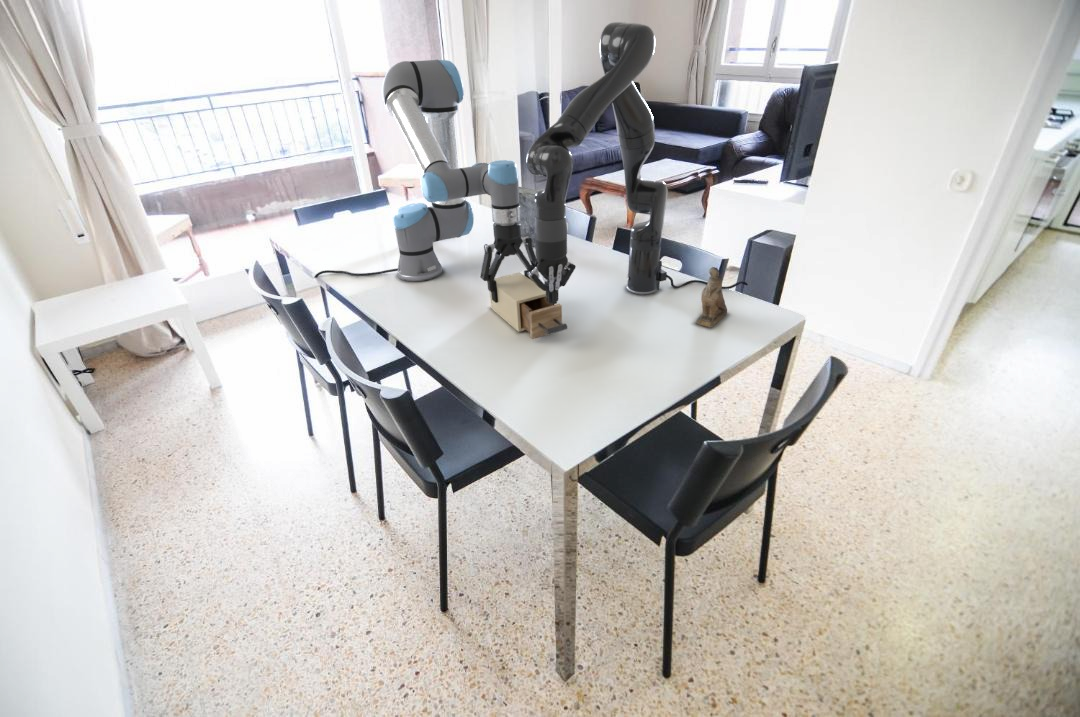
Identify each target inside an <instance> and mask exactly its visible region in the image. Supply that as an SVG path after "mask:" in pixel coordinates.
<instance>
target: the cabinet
mask: <svg viewBox="0 0 1080 717" xmlns="http://www.w3.org/2000/svg"><path fill="white" fill-rule="evenodd" d="M494 280H495V281H496V284H497V296H498V302H497V303H495V302H494V301H493V300H492V295H491V292H490V291H489V299H490V309H492V311H494V312H495V314H497V315H498V316H499V317H500V318H502V319H503V320H504V321H505V322H506V323H508V324H509V325H510V326H511V327H512V328H513V329H514V330H515V331H517V332H518V333H521V332H524V331H527V330H526V329H525V328H523V327H522V326H521V321H520V306H519V303H523V302H526V301H530V300H534V299H538V298H541V297H546V291H543V290H542V289H541V288H539V287H538V286H537V285H536V284H535V283H534V282H533V281H532V280H530V279H529V278H527V277H526V276H524V273H521V272H520V271H519V272H515V273H511V274H506V275H503V276H499V277H498V276H497V277H495V278H494Z"/></svg>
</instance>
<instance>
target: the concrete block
mask: <svg viewBox="0 0 1080 717" xmlns="http://www.w3.org/2000/svg"><path fill="white" fill-rule="evenodd" d="M537 191H538V190H536V189H532V188H528V187H522V186H519V207H520V220H519V222H520V223H521V238H524V237H525V236H528V237H530V238H531V239H532V247H535V235H534V234H535V194H536V192H537Z"/></svg>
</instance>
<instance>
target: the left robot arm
mask: <svg viewBox="0 0 1080 717" xmlns="http://www.w3.org/2000/svg"><path fill="white" fill-rule="evenodd" d="M464 92H465V90H464V84H463V80H462V77H461V74H460V71H459V70H458V68H457V65H455V63H453V62H452V61H450V60H447V59H438V58H437V59H428V60H413V61H412V60H411V61H409V60H405V61H404V60H403V61H399V62H396V63H395V64H393V65H392V66H391V67H390V68H389V69H388V71H387V72H386V73H385V76H384V78H383V81H382V85H381V97H382V101H383V105H384V106H385V109H386V111H387V113H388V114H389V115H390V116H391V117H392V118H395V121H396V123H397V124H398V126H399V129H400V130H401V132H402V134H403V136H404V139H405V140H406V142H407V144H408V146H409V148H410V151H411V153H412V154H413V156H414V158H415V160H416V162H417V164H418V167H419V169H420V170H421V172H422V174H420V175H421V176H420V178H419V183H420V189H421V192H422V196H423V198H424V199H425V201H427V202H428V203H431V206H428V205H427V204H425V203H424V202H423V203H422V202H417V203H410V204H406V205H403V206H401V207H399V208H397V209H396V210H395V211H394V213H393V215H392V219H393V228H394V230H395V231H394V232H395V236H396V241H397V247H398V251H399V259H398V265H397V268H392V269H385V270H381V271H375V272H362V273H361V272H360V273H359V272H357V273H356V272H350V271H346V270H330V269H329V270H320V271H318V272H317V273H316V274H315V275H314V278H318V277H319V276H321V275H322V274H345V275H349V276H354V277H366V276H367V277H368V276H375V275H382V274H388V273H392V272H394V273H395V272H397V276H398V278H399V279H400V280H402V281H406V282H413V283H414V282H425V281H429V280H432V279H435V278H438V277H439V276H440V275H441V274H442V273H443V268H442V264H441V263H440V260H439V259H438V256H437V254H436V252H435V250H434V243H435V242H440V241H441V242H442V241H446V240H450V239H455V238H461V237H463V236H466V235H469V234H470V233H471V231H472V230H473V226H474V219H475V218H474V217H475V216H474V211H473V207H472V205H471V203H470V202H469V201H468V200H467V199H466V198H471V197H476V196H482V195H488V196H490V202H491V204H490V205H491V217H492V222H493V224H492V227H493V238H494V241H493V243H491V244H488V243H485V244H484V245H483V249H484V255H483V259H482V265H481V270H480V276H479V277H480V279H481V280H483V281H484V282H486V284H487V290H488V291H489V293H490V292H491V295H492V300H493V301H494V302H495V303H497V302H498V296H497V284H496V281H495V280H494V278H496V276H497V273H498V271H499V269H500V266H501V265H502V262H503V261H504V259H505V258H506V257H509V256H515V255H516V256H517V258H518V259H519V261H520V262H521V263H522V265H523V267H524V268H525V269H526V270H524V271H523V275H524V276H526V277H527V278H529V277H528V275H527V272H528V271H532V270H533V269H534V268H535V262H536V252H535V251H534V247H533V246H532V239H531V238H530V237H528V236H525V237H524V238H521V223H520V222H519V220H520V207H519V187H520V186H519V174H518V166H517V163H516V162H515V161H513V160H506V159H501V160H494V161H491V162H490V163H487V162H476V163H474V164H472V166H467V167H460V168H459V161H458V148H457V141H456V140H457V139H456V129H455V128H456V127H455V115H456V114H457V112H458V111H459V109H458V108H459V106H458V104H460V103H462V102H463V101H464V95H465V94H464ZM522 245H524V249H525V251H526V254H527V257H528V259H529V260H528V259H527V257H526V256H525V255H524V252H523V251H522V250H521V247H522ZM495 250H496V252H495V254H494V258H493V253H494V251H495ZM492 260H493V261H492ZM529 279H530V278H529ZM530 280H531V279H530Z"/></svg>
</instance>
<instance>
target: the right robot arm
mask: <svg viewBox="0 0 1080 717" xmlns="http://www.w3.org/2000/svg"><path fill="white" fill-rule="evenodd" d="M598 48H599V49H598V50H599V59H600V63H601V67H602V71H603V76H601V77H600V78H599V79H597V80H596V81H594V82H593V83H592V84H590V85H589V86H587V87H586V88H585V87H584V89H582V90H581V91H580V92H579V93H578V94H576V95H575V96H574V98H572V99H571V101H570V102H569V103H568V105H567V106H566V108H565V109H564V111H563V112H562V113H561V114H560V116H559V118H558V120H557V121H556V122H555V123H554V124H553V125H551V126H550V127H548V128H547V129H546V130H545V131H544V132H543V133H542V134H541V135H540V136H539V137H538V138H536V139H535V141H534V142H533V143H532V144H531V146H530V147H529V149H528V151H527V154H526V158H525V160H526V161H525V162H526V168H527V170H528V172H529V173H530V174H532V175H533V176H535V177H539V178H544V179H546V181H545V186H544V187H543V188H541V189H539V190H537V192H536V194H535V234H534V235H535V246H534V247H535V251H534V253H535V256H536V262H535V268H534V269H533V270H532V271H528V272H527V275H528V277H529V278H530V279H531V280H532V281H533V282H534V283H535V284H536V285H537V286H538V287H539V288H541V289H542V290H543V291H546V301H547V302H548V303H549V304H551V305H553V304H554V305H556V304H558V301H559V290H560V288H561V287H566V285H567V283H568V281H569V280H570V278H571V276H572V275H573V273H574V271H575V270H576V268H577V266H576V265H575V264H574V263H572V262H571V261H569V258H568V257H567V255H568V225H567V215H566V214H567V211H566V210H567V208H566V207H567V206H566V204H567V202H566V201H567V200H566V199H567V194H568V191H569V186H570V183H571V179H572V178H571V177H572V173H573V168H574V161H573V156H572V154H571V151H570V149H573V148H577V147H579V146H580V145H581V144H582V143H583V142H584V141H585V139H586V138H587V137H588V135H589V133H591V131H592V129H593V128H594V126H595V125H596V123H597V122H598V121H599V119H600V118H601V117H602V115H604V113H605V111H606V110H607V109H608V108H609V107H610V106H611V105H612V110H613V114H614V120H615V126H616V133H617V139H618V145H619V149H620V154H621V160H622V164H623V165H622V166H623V172H624V183H625V197H626V203H627V207H628V210H630V212H632V213H635V214H642V215H649V219H648V220H646V221H643V222H637V223H635V224H634V225H632V226H631V228H630V235H629V236H630V238H629V251H628V252H629V253H628V269H627V274H626V279H627V284H626V290H627V291H628V292H629V293H631V294H635V295H638V296H639V295H641V296H646V295H652V294H654V293H656V292H657V291H659V290H660V286H661V282H664V281H667V279H668V280H669V281H670V286H671V287H672V288H673V289H679V288H681V287H685V286H687V285H689V284H692V283H694V284H695V283H698V284H703V285H706V286H707V284H708V281H704V280H699V279H691V280H688V281H686V282H684V283H682V284H681V285H675V284H674V279H673V278H672V277H671V276H670V275H668V272H667V271H665V270H664V269H662V266H663V265H662V264H663V262H662V260H661V259H660V258H661V257H660V256H661V247H662V237H663V236H662V235H663V229H664V225H665V224H664V223H665V215H666V208H667V203H668V192H669V191H668V186H667V183H665V182H664V181H657V180H649V179H648V180H647V179H646V180H645V179H643V178H642V175H641V170H642V168H643V165H644V164H645V163H646V161H647V159H648V158H649V157H650V155H651V152H652V151H653V149H654V146H655V142H656V132H655V123H654V122H655V121H654V116H653V114H652V112H651V109H650V108H649V106H648V104H647V102H646V101H645V99H644V98H643V97H642V95H641V93H640V92H639V90H638V89H637V87H636V85H635V83H634V81H636V80H637V78H638V77H640V76H641V74H642V73H643V72H644V71H645V70H646V68H647V67H648V65H649V64H650V62H651V61H652V58H653V55H654V53H655V48H656V37H655V33H654V30H653V29H652V27H650V26H649V25H647V24H642V23H636V22H625V21H624V22H623V21H614V22H613V21H612V22H610V23H607V25H605V27H603V30H602V32H601V34H600V39H599V47H598ZM540 275H541V277H542V280H543V281H542V280H541V279H540ZM741 284H743V285H744V286H749V284H748V283H747V282H746V281H744V280H740V281H736V282H735V283H734V284H732V285H728V286H722V288H721V289H722V290H729V289H733V288H736V287H737V286H739V285H741Z"/></svg>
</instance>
